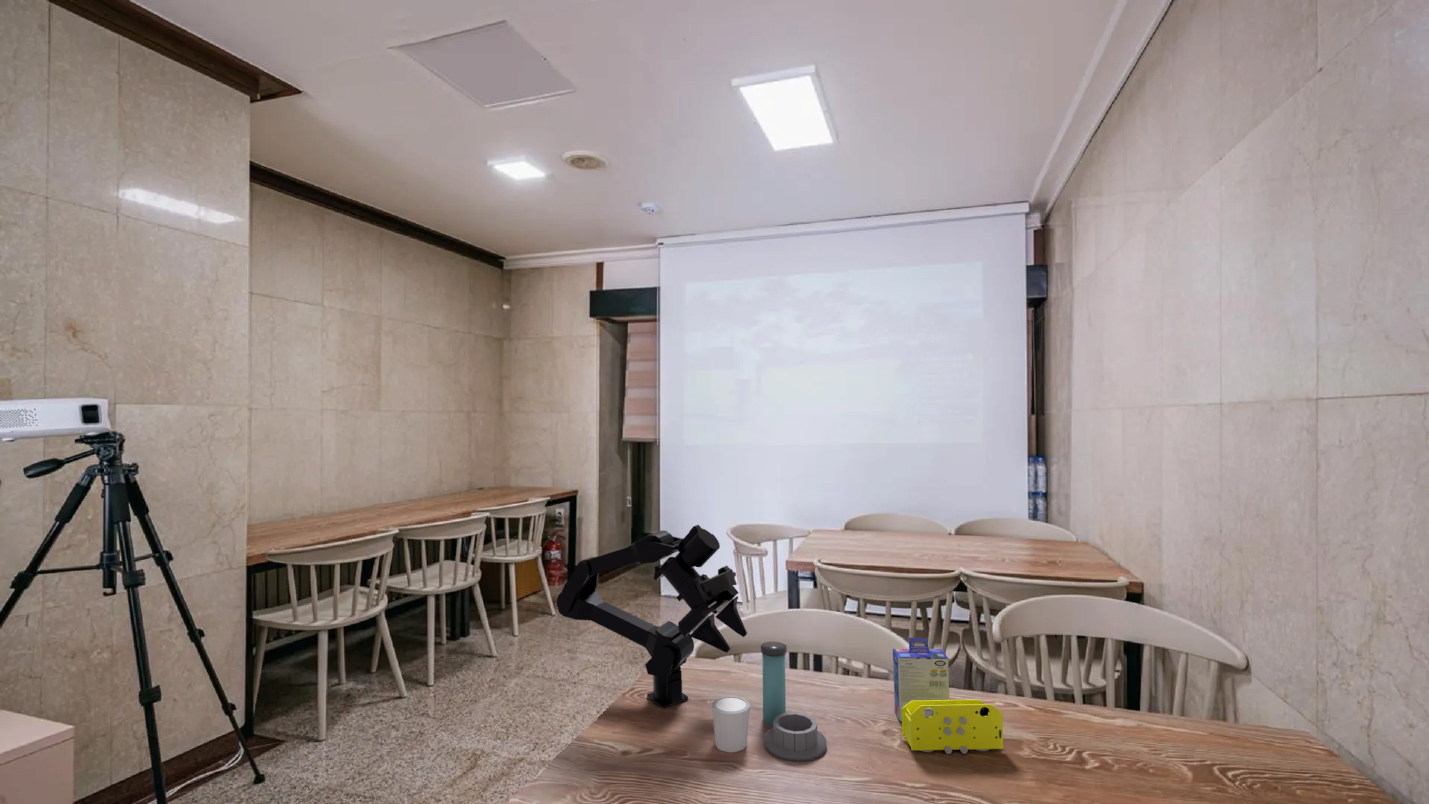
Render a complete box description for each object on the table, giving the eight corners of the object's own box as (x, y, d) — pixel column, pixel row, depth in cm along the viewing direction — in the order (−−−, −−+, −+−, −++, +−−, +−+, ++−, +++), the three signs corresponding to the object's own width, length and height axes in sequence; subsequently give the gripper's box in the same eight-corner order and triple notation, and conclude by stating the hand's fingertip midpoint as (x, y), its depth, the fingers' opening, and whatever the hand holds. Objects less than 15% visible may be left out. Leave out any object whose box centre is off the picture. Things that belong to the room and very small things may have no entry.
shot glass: (747, 756, 104) (747, 714, 104) (708, 752, 105) (708, 711, 105) (752, 735, 111) (752, 696, 111) (716, 732, 112) (715, 693, 112)
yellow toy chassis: (912, 756, 103) (911, 707, 104) (901, 739, 109) (900, 692, 110) (1004, 755, 104) (1003, 705, 104) (989, 737, 109) (988, 691, 110)
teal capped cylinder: (756, 718, 117) (755, 645, 118) (775, 711, 120) (774, 639, 120) (773, 728, 113) (772, 653, 113) (792, 720, 116) (791, 647, 116)
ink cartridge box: (943, 710, 120) (941, 636, 120) (952, 723, 114) (950, 646, 115) (892, 708, 121) (891, 635, 121) (899, 722, 115) (897, 645, 116)
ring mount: (751, 741, 109) (751, 719, 109) (796, 722, 115) (796, 702, 115) (794, 769, 100) (793, 745, 100) (839, 747, 106) (839, 725, 106)
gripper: (692, 566, 114) (747, 632, 109) (729, 547, 131) (778, 604, 126) (655, 603, 117) (708, 670, 112) (696, 580, 134) (743, 637, 129)
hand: (737, 642), depth 120 cm, fingers open, 9 cm apart
